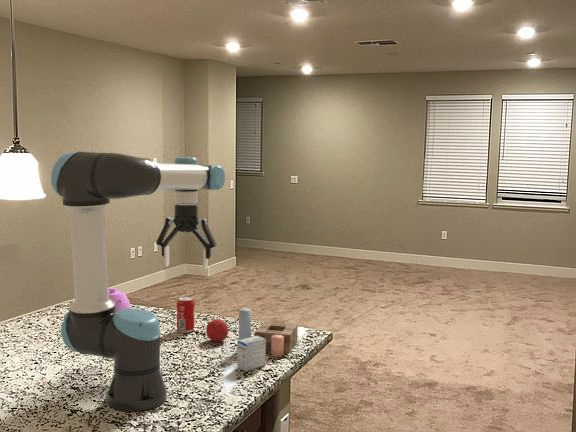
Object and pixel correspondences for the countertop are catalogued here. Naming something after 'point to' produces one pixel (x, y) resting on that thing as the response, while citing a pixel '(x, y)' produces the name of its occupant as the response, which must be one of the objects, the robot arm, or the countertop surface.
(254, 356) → the medicine box
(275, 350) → the short pin
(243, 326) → the long pin
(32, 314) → the countertop surface
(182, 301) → the beverage can
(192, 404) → the countertop surface
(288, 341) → the hole block
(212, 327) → the tomato
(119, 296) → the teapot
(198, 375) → the countertop surface
